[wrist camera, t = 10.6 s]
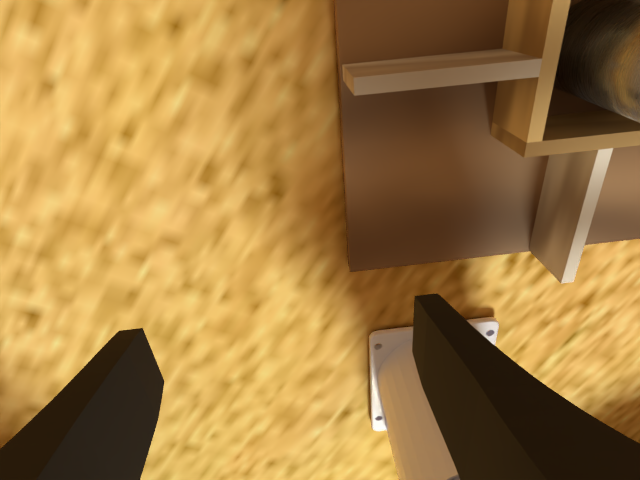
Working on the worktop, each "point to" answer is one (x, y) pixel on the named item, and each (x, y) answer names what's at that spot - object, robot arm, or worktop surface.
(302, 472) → the worktop surface
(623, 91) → the hinge pin
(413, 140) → the hinge block
